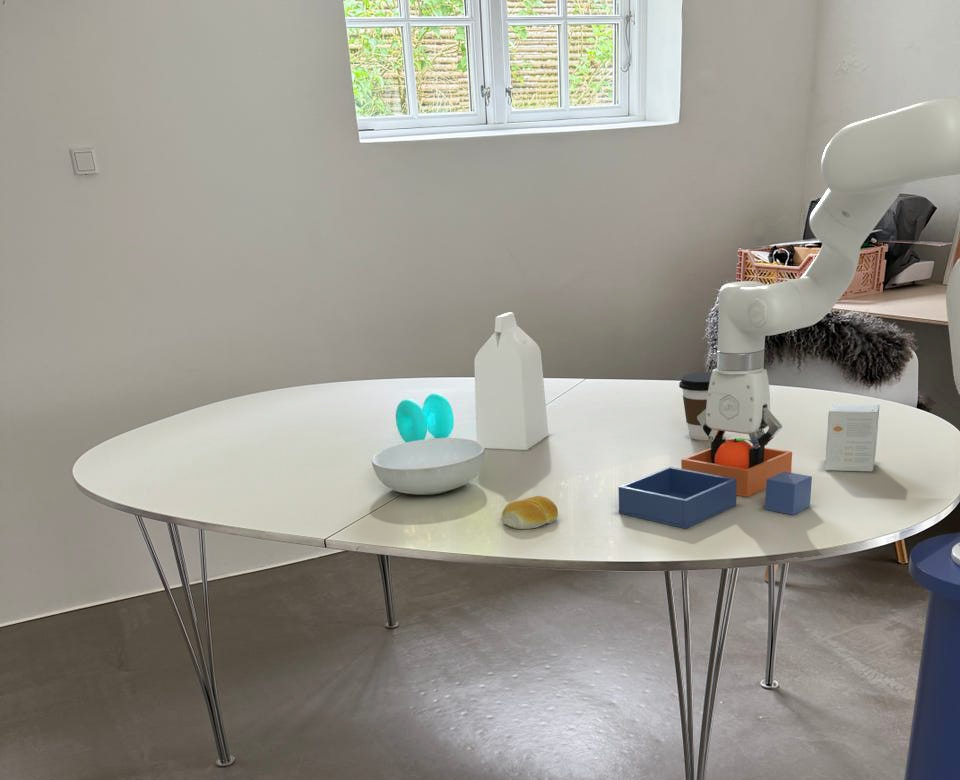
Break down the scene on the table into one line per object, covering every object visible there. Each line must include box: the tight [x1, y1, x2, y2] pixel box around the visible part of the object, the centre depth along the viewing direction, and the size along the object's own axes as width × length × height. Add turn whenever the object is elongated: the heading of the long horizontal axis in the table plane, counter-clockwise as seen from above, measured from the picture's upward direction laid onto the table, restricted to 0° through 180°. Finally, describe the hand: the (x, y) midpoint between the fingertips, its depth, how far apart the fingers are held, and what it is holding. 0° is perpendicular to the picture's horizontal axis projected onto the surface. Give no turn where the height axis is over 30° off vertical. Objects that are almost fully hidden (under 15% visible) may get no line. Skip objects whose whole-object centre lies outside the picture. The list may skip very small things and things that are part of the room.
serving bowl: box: [371, 437, 486, 496], centre depth 176 cm, size 21×21×7 cm
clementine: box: [714, 437, 753, 469], centre depth 164 cm, size 8×7×7 cm
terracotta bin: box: [680, 445, 793, 498], centre depth 165 cm, size 13×13×4 cm
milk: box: [473, 312, 549, 451], centre depth 197 cm, size 12×12×26 cm
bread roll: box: [501, 495, 559, 530], centre depth 155 cm, size 8×9×4 cm
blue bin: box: [618, 466, 737, 529], centre depth 154 cm, size 13×13×4 cm
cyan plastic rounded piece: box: [395, 392, 455, 443], centre depth 207 cm, size 10×10×10 cm
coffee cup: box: [678, 371, 712, 441], centre depth 191 cm, size 11×11×12 cm
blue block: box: [764, 472, 813, 516], centre depth 150 cm, size 5×5×5 cm
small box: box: [824, 403, 880, 472], centre depth 165 cm, size 8×6×10 cm
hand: (736, 465), depth 165 cm, fingers closed on clementine, 7 cm apart
